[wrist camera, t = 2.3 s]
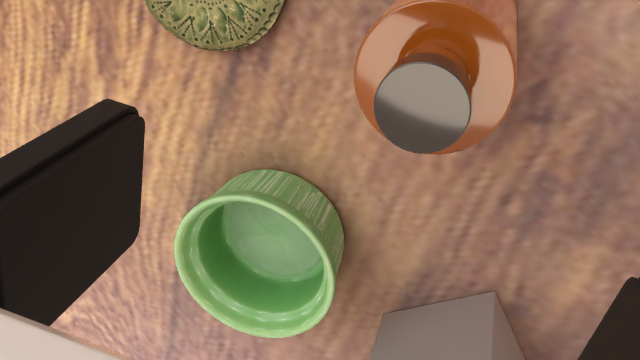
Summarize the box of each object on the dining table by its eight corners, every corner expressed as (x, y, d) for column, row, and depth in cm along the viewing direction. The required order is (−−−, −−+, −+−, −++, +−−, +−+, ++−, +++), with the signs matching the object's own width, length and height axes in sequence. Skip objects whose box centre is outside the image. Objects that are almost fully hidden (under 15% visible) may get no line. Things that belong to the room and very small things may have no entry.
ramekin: (224, 283, 38) (191, 329, 34) (195, 156, 33) (155, 192, 30) (360, 297, 35) (341, 349, 31) (347, 160, 31) (324, 200, 27)
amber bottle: (536, -22, 24) (547, 48, 15) (492, 92, 27) (479, 211, 18) (415, -54, 25) (355, -6, 16) (384, 60, 28) (318, 159, 18)
